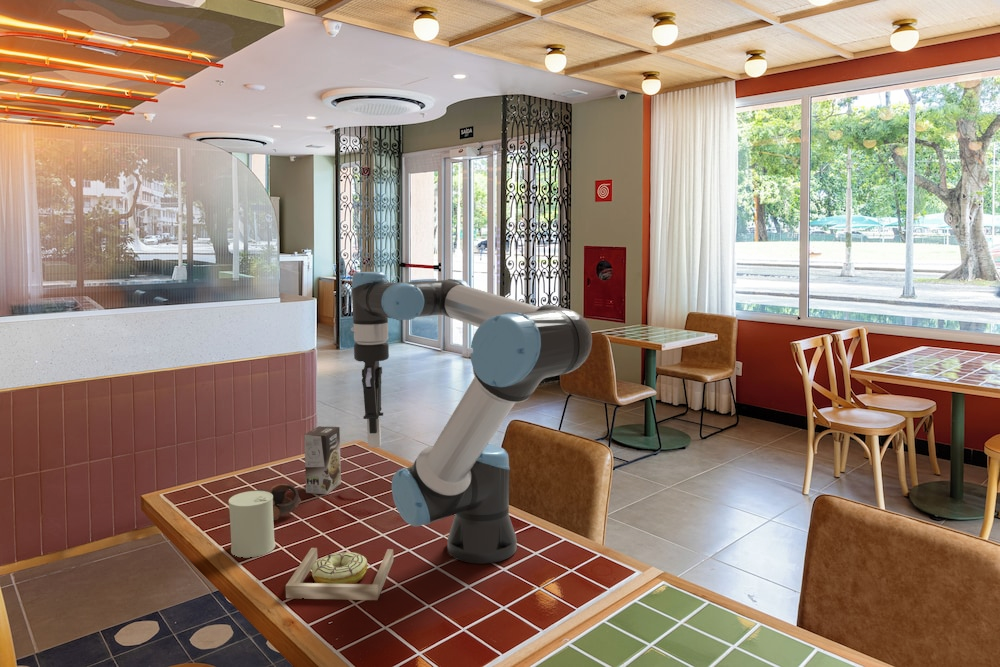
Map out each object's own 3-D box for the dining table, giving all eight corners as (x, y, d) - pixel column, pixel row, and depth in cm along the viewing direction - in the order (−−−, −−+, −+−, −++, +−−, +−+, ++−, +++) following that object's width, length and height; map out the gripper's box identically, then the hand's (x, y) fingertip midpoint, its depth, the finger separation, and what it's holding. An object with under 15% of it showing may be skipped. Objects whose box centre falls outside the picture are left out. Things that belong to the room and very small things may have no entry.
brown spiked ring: (302, 505, 180) (306, 483, 175) (292, 535, 172) (295, 513, 167) (255, 495, 178) (257, 473, 174) (242, 524, 170) (244, 502, 166)
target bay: (393, 560, 148) (393, 549, 148) (377, 600, 132) (377, 587, 132) (311, 559, 149) (311, 547, 149) (285, 598, 133) (285, 585, 132)
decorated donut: (323, 564, 147) (323, 547, 147) (373, 567, 146) (373, 549, 145) (304, 588, 137) (303, 570, 136) (358, 592, 136) (357, 573, 135)
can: (261, 559, 148) (258, 505, 147) (222, 555, 150) (219, 502, 149) (283, 541, 157) (280, 490, 156) (245, 537, 159) (243, 487, 158)
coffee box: (327, 495, 185) (325, 435, 183) (305, 493, 186) (302, 434, 184) (342, 483, 194) (340, 426, 192) (320, 481, 195) (318, 425, 193)
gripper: (359, 338, 161) (362, 438, 165) (348, 346, 149) (352, 454, 152) (391, 337, 162) (394, 437, 165) (384, 346, 149) (387, 454, 152)
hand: (374, 445), depth 158 cm, fingers closed
